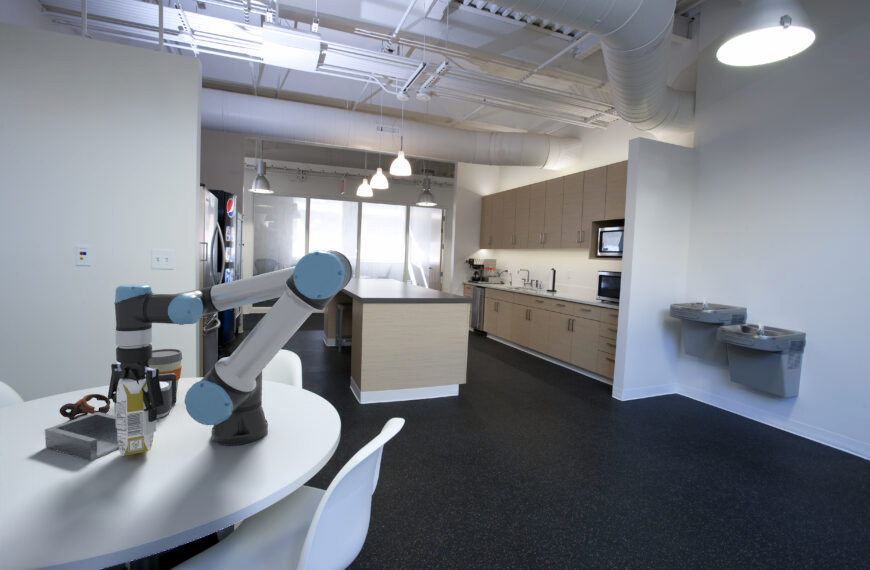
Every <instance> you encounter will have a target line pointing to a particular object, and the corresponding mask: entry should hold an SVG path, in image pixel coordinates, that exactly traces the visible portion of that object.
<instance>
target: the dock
mask: <svg viewBox="0 0 870 570" xmlns="http://www.w3.org/2000/svg"><path fill="white" fill-rule="evenodd" d="M44 433H45V434H44V438H45V448H46V447H47V448H46V449H49V448H50V450H53V449H54V450H53V451H56V450H58V451H57V452H59V451H61V452H60V453H63V452H64V454H66V453H67V454H66V455H71V456H74V457H75V458H76V457H77V458H81V459H83V460H88V461H93V460H96V459H98V458H101V457H103V456H106V455H108V454H110V453H113V452H115V451H118V450H119V448H118V441H117V428H116V418H115V415H113V414H109V413H106V414H105V413H101V412H96V413H93V414H90V413H89V414H88V415H85V416H82V417H79V418H76V419H75V418H74V419H73V420H70V421H67V422H64V423H60V424H58V425H53V426H52V427H51V426H50V427H48V428H45V429H44Z"/></svg>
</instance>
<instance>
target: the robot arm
mask: <svg viewBox="0 0 870 570" xmlns="http://www.w3.org/2000/svg"><path fill="white" fill-rule="evenodd" d="M352 276H353V267H352V263H351V261H350V259H348V257H347V256H346V255H345V254H343V253H341V252H340V251H337V250H331V249H330V250H329V249H328V250H326V249H318V250H313V251H310V252H308V253H306V254H305V255H303V256H302V257H301V258H300V259H298V261H297V263H296V264H295V266H291V267H287V268H282V269H278V270H275V271H269V272H266V273H262V274H258V275H253V276H247V277H245V278H241V279H237V280H233V281H228V282H224V283H220V284H215V285H210V286H207V287H202V288H198V289H194V290H190V291H184V292H178V293H154V292H153V290H152V287H151V286H150V285H149V284H142V283H137V284H122V285H118V286H117V287H116V288H115V295H114V296H115V297H114V303H113V304H114V310H115V311H114V313H115V346H117V347H116V348H115V358H116V362H115V363H111V365H110V366H111V368H110V369H111V375H110V381H109V387H108V393H107V398H108V399H109V400H112V402H113V403H114V413H115V415H114V416H115V418H116V428H117V386H118V383H119V380H120V379H125V378H126V379H133V380H135V381H137V383H138V384H139V382H138V381H139V380H140V379H144V378H146V383H147V388H148V391H147V392H145V391H144V390H143V388H142V392H143V402H144V404H145V407H146V409H144V410H143V411H144V435H148V434H150V433H153V432H154V433H156V432H157V419H158V418H157V408H158V407H161V406H163V405H164V402H163V397H162V392H161V387H160V382H159V377H158V376H159V369H158V368H154V369H152V368H150V367H149V364H148V361H149V360H150V359H151V358H152V350H153V345H152V344H151V343H152V342H153V338H152V337H153V335H152V334H153V333H152V332H153V331H152V328H153V326H152V325H153V324H167V325H170V324H172V325H180V326H181V325H182V326H185V325H194V324H197V323H198V322H199V320H200V319H201V317H202V316H206V315H210V314H214V313H219V312H222V311H223V312H224V311H226V310H230V309H235V308H239V307H244V306H249V305H252V304H257V303H260V302H265V301H268V300H273V299H277V298H279V299H278V300H277V301H276V302H275V303H274V304H273V305H272V306H271V307H270V309H269V310H268V311H267V312H266V313H265V315H264V316H263V317H262V318H261V319H260V320H259V321H258V323H257V324H256V325H255V326H254V327H253V328H252V330H251V331H250V332H249V333H248V335H246V337H245V338H244V339H243V340H242V341H241V343H240V344H239V345H238V347H237V348H236V349H235V350H234V351H233V352H232V353H231V354H230V356H227V357H225V356H224V357H222V358H220V359H219V360H218V361H217V362H215V364H214V365H213V366H212V367H211V368H210V370H209V371H208V372H207V373H206V374H205V375H204V376H203V378H201V379H200V380H199V381H196V382H195V383H193V384H192V385H191V387H189V388H188V390H187V391H186V394H185V396H184V404H185V409H186V412H187V414H188V415H189V416H190V417H191V419H192V420H194V421H195V422H197V423H198V424H201V425H204V426H212V428H211V436H210V437H211V438H210V439H211V440H212V441H213V442H214V443H215V444H218V445H222V446H238V445H239V446H240V445H244V444H249V443H253V442H255V441H258V440H260V439H262V438H263V437H265V436H266V435H267V434H268V431H269V423H268V420H267V418H266V416H265V412H264V408H263V406H262V405H263V404H262V403H263V402H262V401H263V398H262V396H263V370H264V369H265V368H266V367H267V365H268V364H270V362H271V361H272V360H273V358H275V357H276V355H277V354H278V353H279V352H280V351H281V350H282V348H283V347H284V346H285V345H286V344H287V343H288V341H290V339H291V338H292V337H293V335H294V334H295V333H296V332H297V331H298V330H299V329H300V328H301V326H302V325H303V324H304V323H305V322H306V320H307V319H308V318H309V317H311V315H312V313H314V312H323V310H324V309H325V307H326V306H328V305H329V304H330V302H331V301H332V300H333V299H334V297H335V296H336V295H337V294H338V293H339V292H341V290H343V289H345V288H346V287H347V286H348V285H349V283H350V281H351V280H352ZM150 403H151V405H150Z"/></svg>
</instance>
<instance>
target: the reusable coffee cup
mask: <svg viewBox="0 0 870 570" xmlns="http://www.w3.org/2000/svg"><path fill="white" fill-rule="evenodd" d="M182 360H183V352H182V350H181V349H177V348H161V349H152V358H151V359H150V360H149V361H148V364H149V367H150V368H152V369H154V368H158V369H159V374H167V373H175V374H176V393H178V387H179V380H180V379H181V374H182V369H183V368H182Z"/></svg>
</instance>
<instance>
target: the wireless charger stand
mask: <svg viewBox="0 0 870 570" xmlns="http://www.w3.org/2000/svg"><path fill="white" fill-rule="evenodd" d="M158 377H159V382H160V387H161V392H162V397H163V402H164V405H163V406H161V407H158V408H157V419H158V418H162V417H165V416H167V415H168V414H169V413H170V410H171V409H172V405H175V404H176V403H177V392H176V374H175V373H167V374H159V376H158Z"/></svg>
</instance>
